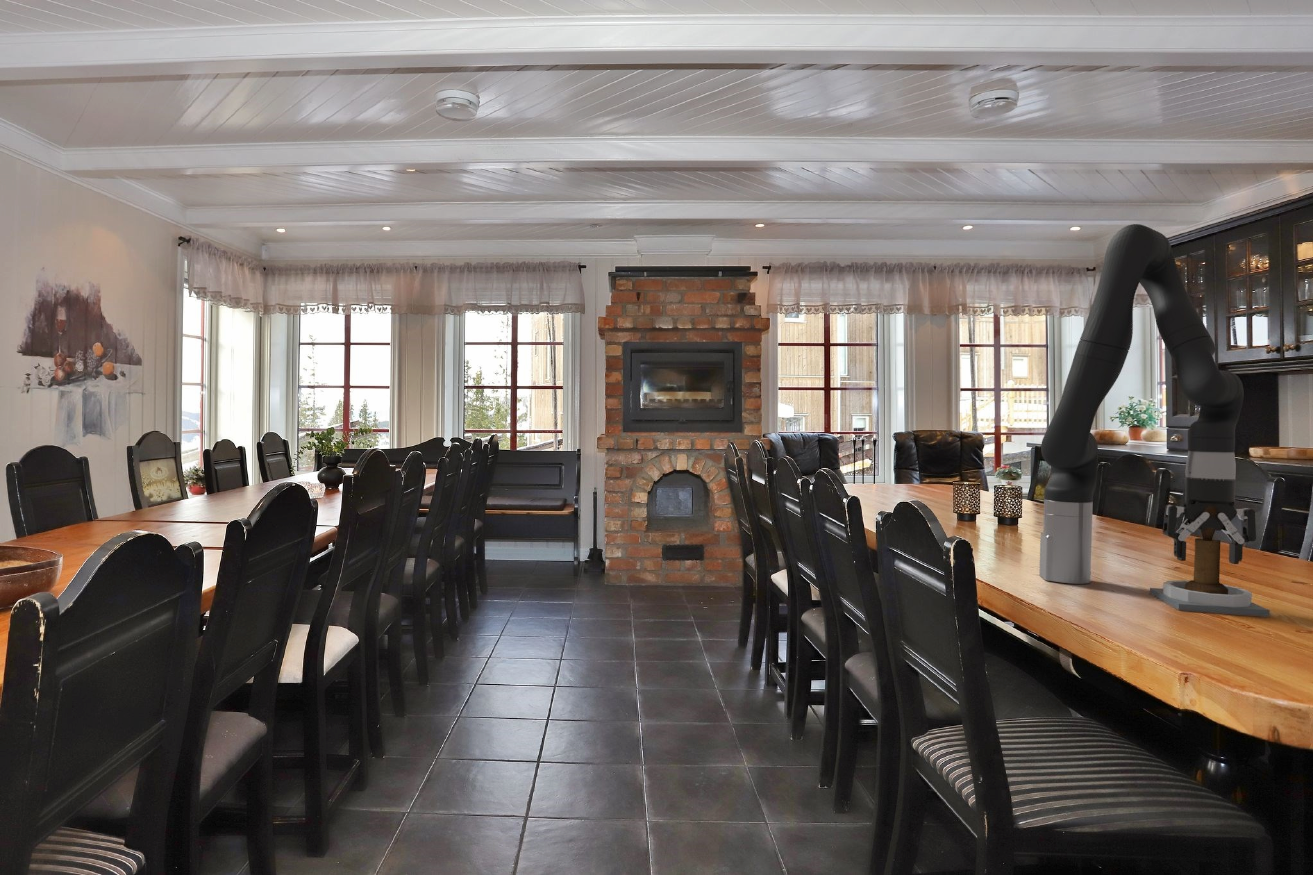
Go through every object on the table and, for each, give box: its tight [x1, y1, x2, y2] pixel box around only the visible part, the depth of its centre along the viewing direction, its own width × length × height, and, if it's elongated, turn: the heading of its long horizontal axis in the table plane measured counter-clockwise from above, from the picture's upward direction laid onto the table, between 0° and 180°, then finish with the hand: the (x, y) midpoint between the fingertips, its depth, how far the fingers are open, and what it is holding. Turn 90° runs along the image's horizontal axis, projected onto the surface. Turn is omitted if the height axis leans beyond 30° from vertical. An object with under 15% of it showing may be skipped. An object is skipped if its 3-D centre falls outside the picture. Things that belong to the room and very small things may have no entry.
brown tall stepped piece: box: [1185, 506, 1228, 595], centre depth 140 cm, size 7×6×18 cm
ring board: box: [1149, 579, 1271, 618], centre depth 140 cm, size 14×14×3 cm
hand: (1207, 561), depth 140 cm, fingers open, 8 cm apart
